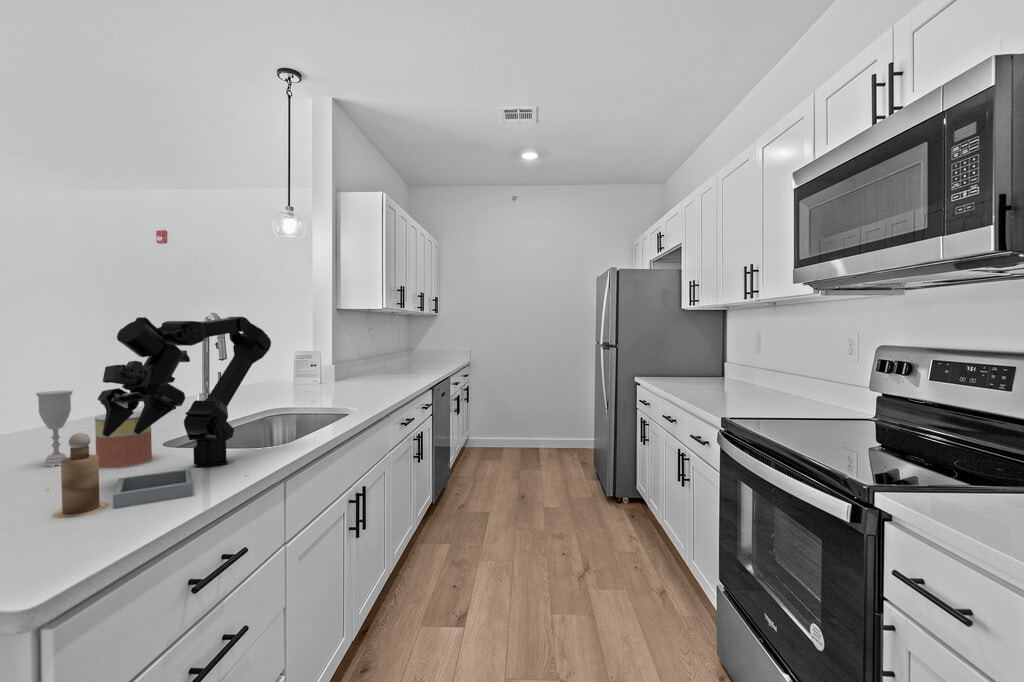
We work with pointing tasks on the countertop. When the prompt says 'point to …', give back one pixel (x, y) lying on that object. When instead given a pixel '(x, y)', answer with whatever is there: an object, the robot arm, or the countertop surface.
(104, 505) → the coaster
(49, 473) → the countertop surface
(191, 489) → the tray
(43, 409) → the chalice
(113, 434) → the canned food
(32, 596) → the countertop surface
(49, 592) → the countertop surface
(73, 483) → the pepper mill
